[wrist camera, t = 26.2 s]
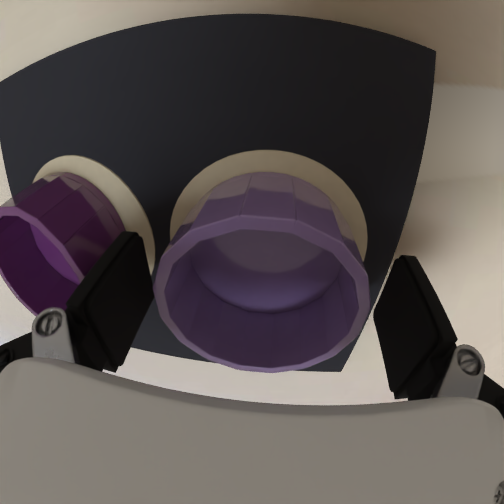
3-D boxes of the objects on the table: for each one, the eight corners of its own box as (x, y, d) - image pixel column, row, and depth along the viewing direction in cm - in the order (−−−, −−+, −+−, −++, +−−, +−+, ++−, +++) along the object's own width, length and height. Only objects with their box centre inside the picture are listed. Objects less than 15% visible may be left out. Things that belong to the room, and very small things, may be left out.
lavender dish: (192, 302, 13) (172, 360, 11) (178, 167, 10) (135, 209, 7) (330, 315, 13) (337, 376, 10) (366, 182, 9) (400, 231, 6)
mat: (1, 83, 7) (-7, 85, 7) (430, 51, 6) (437, 50, 6) (71, 325, 18) (68, 331, 17) (340, 365, 17) (341, 373, 16)
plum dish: (53, 278, 14) (23, 317, 11) (19, 176, 10) (-27, 208, 7) (143, 295, 14) (116, 347, 11) (115, 167, 10) (61, 206, 7)
